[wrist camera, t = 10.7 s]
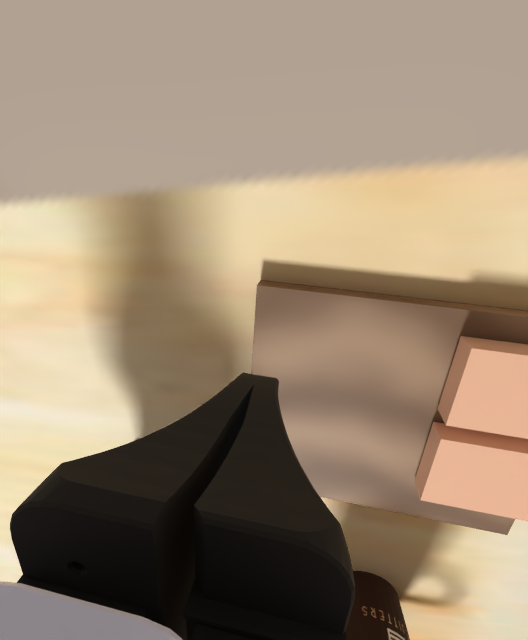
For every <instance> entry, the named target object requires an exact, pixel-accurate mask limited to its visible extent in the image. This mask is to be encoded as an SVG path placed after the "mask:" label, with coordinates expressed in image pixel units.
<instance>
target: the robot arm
mask: <svg viewBox="0 0 528 640" xmlns="http://www.w3.org/2000/svg"><path fill="white" fill-rule="evenodd" d="M278 388H279V381H278V379H277V378H273V377H267V376H260V375H254V374H248V373H242V374H241V375H240V376H238V377H237V378H236V379H235V380H234V381H232V382H231V383H230V384H229V385H228V386H227V387H225V388H224V389H223V390H222V391H220V392H219V393H218V394H217V395H215V396H214V397H213V398H211V399H210V400H209V401H207V402H206V403H205V404H203V405H202V406H200V407H199V408H197V409H196V410H194V411H193V412H192V413H190V414H188V415H187V416H185V417H183V418H182V419H180V420H178V421H176V422H174V423H173V424H171V425H169V426H167V427H165V428H163V429H161V430H158V431H156V432H154V433H152V434H150V435H147V436H145V437H143V438H141V439H138V440H136V441H133V442H130V443H128V444H125V445H122V446H120V447H117V448H114V449H111V450H108V451H105V452H101V453H98V454H94V455H91V456H87V457H83V458H80V459H76V460H73V461H69V462H64V463H62V464H61V465H59V466H58V467H57V468H56V469H55V470H54V471H53V472H52V473H51V474H50V475H49V476H48V477H47V478H46V479H45V480H44V481H43V482H42V483H41V484H40V485H39V486H38V487H37V488H36V489H35V490H34V491H33V493H32V494H31V495H30V496H29V497H28V498H27V499H26V500H25V501H24V502H23V503H22V504H21V505H20V506H19V507H18V508H17V509H16V511H15V512H14V513H13V514H12V518H11V522H10V530H11V536H12V541H13V544H14V547H15V550H16V553H17V556H18V559H19V563H20V566H21V569H22V572H23V575H22V577H21V578H20V579H19V580H18V582H17V583H11V582H0V640H346V629H347V625H348V622H349V618H350V615H351V611H352V607H353V604H354V599H355V582H354V575H353V570H352V565H351V560H350V556H349V552H348V548H347V544H346V541H345V538H344V535H343V531H342V528H341V525H340V523H339V522H338V521H337V519H336V518H335V517H334V516H333V514H332V513H331V512H330V510H329V509H328V508H327V506H326V505H325V504H324V502H323V501H322V499H321V498H320V496H319V495H318V493H317V492H316V490H315V489H314V487H313V486H312V484H311V482H310V481H309V479H308V477H307V475H306V474H305V472H304V470H303V468H302V467H301V465H300V463H299V461H298V459H297V456H296V454H295V452H294V450H293V448H292V445H291V443H290V440H289V438H288V435H287V432H286V429H285V426H284V422H283V419H282V415H281V410H280V405H279V399H278Z"/></svg>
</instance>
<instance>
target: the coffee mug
mask: <svg viewBox="0 0 528 640" xmlns="http://www.w3.org/2000/svg"><path fill="white" fill-rule="evenodd" d="M353 575H354V582H355V599H354V604H353V607H352V611H351V615H350V618H349V622H348V625H347V629H346V640H410V639H409V635H408V631H407V628H406V624H405V620H404V617H403V613H402V609H401V606H400V602H399V598H398V595H397V592H396V590H395V589H394V587H393V586H392V585H391V584H390V583H388V582H387V581H386V580H384V579H383V578H381V577H379V576H376V575H374V574H371V573H367V572H360V571H353Z"/></svg>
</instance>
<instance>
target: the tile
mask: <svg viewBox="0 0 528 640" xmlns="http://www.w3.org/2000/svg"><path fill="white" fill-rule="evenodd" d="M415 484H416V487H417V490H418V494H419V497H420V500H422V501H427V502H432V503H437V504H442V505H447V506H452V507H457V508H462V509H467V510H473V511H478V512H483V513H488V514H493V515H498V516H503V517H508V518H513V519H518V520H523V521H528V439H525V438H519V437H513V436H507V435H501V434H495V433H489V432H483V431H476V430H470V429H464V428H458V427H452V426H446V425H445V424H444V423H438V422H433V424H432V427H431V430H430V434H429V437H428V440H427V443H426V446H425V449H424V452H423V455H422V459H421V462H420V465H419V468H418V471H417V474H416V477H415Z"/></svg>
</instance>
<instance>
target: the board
mask: <svg viewBox="0 0 528 640" xmlns="http://www.w3.org/2000/svg"><path fill="white" fill-rule="evenodd" d="M461 336H465V337H473V338H481V339H489V340H496V341H504V342H512V343H520V344H528V311H523V310H514V309H506V308H497V307H488V306H480V305H471V304H462V303H453V302H445V301H436V300H427V299H419V298H410V297H401V296H393V295H384V294H375V293H366V292H358V291H349V290H340V289H332V288H323V287H314V286H306V285H297V284H288V283H279V282H271V281H262V280H261V281H260V282H259V283H258V285H257V294H256V310H255V326H254V342H253V358H252V374H254V375H260V376H267V377H273V378H277V379H278V381H279V388H278V399H279V405H280V410H281V415H282V419H283V422H284V426H285V429H286V432H287V435H288V438H289V440H290V443H291V445H292V448H293V450H294V452H295V454H296V456H297V459H298V461H299V463H300V465H301V467H302V468H303V470H304V472H305V474H306V475H307V477H308V479H309V481H310V482H311V484H312V486H313V487H314V489H315V490H316V492H317V493H318V495H319V496H320V497H324V498H328V499H333V500H338V501H343V502H348V503H353V504H358V505H363V506H368V507H373V508H377V509H382V510H387V511H392V512H397V513H402V514H407V515H412V516H417V517H422V518H427V519H431V520H436V521H441V522H446V523H451V524H456V525H461V526H466V527H471V528H476V529H480V530H485V531H490V532H495V533H500V534H505V535H507V534H508V532H509V530H510V528H511V526H512V524H513V522H514V520H515V519H513V518H508V517H503V516H498V515H493V514H488V513H483V512H478V511H473V510H467V509H462V508H457V507H452V506H447V505H442V504H437V503H432V502H427V501H422V500H420V497H419V494H418V490H417V487H416V484H415V477H416V474H417V471H418V468H419V465H420V462H421V459H422V455H423V452H424V449H425V446H426V443H427V440H428V437H429V434H430V430H431V427H432V424H433V422H438V423H444V421H443V419H442V417H441V415H440V413H439V411H438V406H439V403H440V399H441V396H442V393H443V390H444V387H445V384H446V381H447V377H448V374H449V371H450V368H451V365H452V362H453V359H454V356H455V352H456V349H457V346H458V343H459V340H460V337H461ZM444 424H445V423H444Z"/></svg>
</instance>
